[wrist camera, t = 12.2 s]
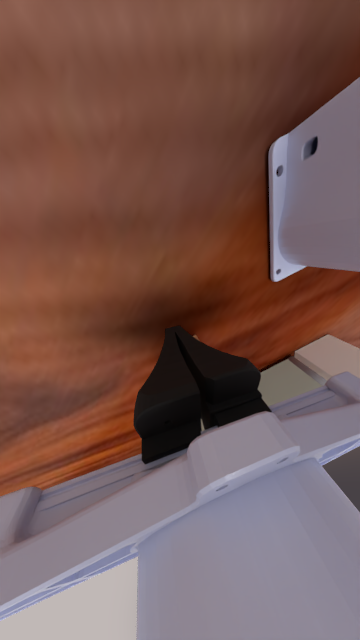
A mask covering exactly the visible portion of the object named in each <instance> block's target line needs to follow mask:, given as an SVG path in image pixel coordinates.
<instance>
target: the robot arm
mask: <svg viewBox="0 0 360 640" xmlns="http://www.w3.org/2000/svg"><path fill="white" fill-rule="evenodd" d="M268 158H269V211H270V263H271V280H272V281H275V282H277V281H279V280H281V279H283V278H285V277H287V276H289V275H291V274H293V273H295V272H297V271H299V270H301V269H303V268H305V267H307V266H312V267H321V268H330V269H340V270H349V271H358V272H360V77H359V78H358V79H357V80H355V81H354V82H353V83H352V84H350V85H349V86H348V87H347V88H345V89H344V90H343V91H341V92H340V93H339V94H338V95H336V96H335V97H334V98H333V99H331V100H330V101H329V102H328V103H326V104H325V105H324V106H322V107H321V108H320V109H319V110H317V111H316V112H315V113H314V114H312V115H311V116H310V117H309V118H307V119H306V120H305V121H304V122H302V123H301V124H300V125H298V126H297V127H296V128H295V129H293V130H292V131H291V132H290V133H288V134H286V135H284V136H282V137H280V138H279V139H277V140H276V141H275V142H274V143H273V144H272V145H271V147H270V150H269V156H268ZM277 169H278V175H277V174H276V171H277ZM276 271H277V272H276ZM260 379H261V373H260V371H259V370H258V369H257V368H256V367H255V366H254V365H253V364H252V363H251V362H250V361H249V360H248V359H246V358H242V357H238V356H234V355H230V354H227V353H224V352H221V351H219V350H216V349H214V348H212V347H209V346H207V345H206V344H204V343H202V342H200V341H199V340H197V339H196V338H194V337H193V336H191V335H190V334H189V333H188V332H186V331H185V330H184V329H183V328H182V327H181V326H175V327H171V328H166V329H165V340H164V344H163V348H162V351H161V354H160V357H159V359H158V361H157V363H156V365H155V367H154V369H153V371H152V373H151V374H150V376H149V378H148V379H147V381H146V382H145V383H144V385H143V386H142V387H141V389H140V390H139V392H138V395H137V399H136V404H135V410H134V427H135V429H136V431H137V432H138V434H139V435H140V437H141V438H142V454H139V455H136V456H134V457H131V458H128V459H126V460H123V461H120V462H118V463H115V464H112V465H110V466H107V467H104V468H101V469H99V470H96V471H93V472H91V473H88V474H85V475H83V476H80V477H77V478H75V479H72V480H69V481H66V482H64V483H61V484H58V485H56V486H53V487H50V488H48V489H45V490H41V489H40V488H38V487H27V488H23V489H20V490H17V491H15V492H12V493H9V494H6V495H4V496H1V497H0V621H1V620H3V619H5V618H7V617H9V616H11V615H13V614H15V613H18V612H20V611H22V610H24V609H25V608H28V607H30V606H32V605H34V604H36V603H39V602H40V601H43V600H45V599H47V598H49V597H51V596H53V595H56V594H58V593H60V592H62V591H64V590H66V589H68V588H71V587H73V586H75V585H77V584H79V583H81V582H83V581H85V580H88V579H90V578H92V577H94V576H96V575H98V574H101V573H103V572H105V571H107V570H109V569H111V568H114V567H116V566H118V565H120V564H122V563H124V562H127V561H129V560H131V559H133V558H135V557H137V556H138V589H137V640H360V512H359V511H358V510H357V509H356V508H355V506H354V505H353V504H352V503H351V501H350V500H349V499H348V498H347V497H346V495H345V494H344V493H343V492H342V490H341V489H340V488H339V487H338V486H337V484H336V483H335V482H334V481H333V479H332V478H331V477H330V476H329V475H328V473H327V472H326V471H325V470H324V469H323V467H322V465H324V464H326V463H327V462H329V461H331V460H333V459H335V458H337V457H339V456H341V455H343V454H345V453H347V452H349V451H350V450H353V449H354V448H356V447H358V446H360V379H359V378H358V377H356V376H354V375H353V374H351V373H349V372H343V373H340V374H337V375H335V376H332V377H331V378H329V379H328V380H327V382H326V383H325V386H322V387H319V388H316V389H314V390H311V391H308V392H306V393H303V394H300V395H298V396H295V397H292V398H290V399H287V400H284V401H282V402H279V403H276V404H273V405H271V406H268V405H267V404H266V403H265V402H264V400H263V399H262V398H261V397H262V394H261V393H260V392H259V390H258V386H259V383H260ZM201 419H202V423H203V426H204V429H205V430H204V431H202V428H201Z"/></svg>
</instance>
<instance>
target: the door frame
mask: <svg viewBox="0 0 360 640" xmlns="http://www.w3.org/2000/svg"><path fill="white" fill-rule="evenodd" d="M294 357H295V358H296V359H298V360H299V361H301V362H302V363H303V364H305V365H306V366H308V367H309V368H310V369H312V370H313V371H315V372H316V373H317V374H319V375H320V376H321V377H323V378H324V379H326V380H328V379H329V378H331V377H332V376H335V375H337V374H340V373H343V372H349V373H351V374H353V375H354V376H356V377H358V378H359V379H360V349H359V348H357V347H355V346H352V345H350V344H348V343H346V342H344V341H342V340H340V339H337V338H335V337H333V336H331V335H329V334H328V335H326V336H324V337H322V338H320V339H318V340H316V341H314V342H312V343H310V344H308V345H306V346H304V347H302V348H300V349H298V350H296V351H295V355H294Z"/></svg>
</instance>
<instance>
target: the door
mask: <svg viewBox="0 0 360 640" xmlns="http://www.w3.org/2000/svg"><path fill="white" fill-rule="evenodd" d="M326 382H327V380H325V379H324V378H323V377H321V376H320V375H318V374H317V373H316V372H314V371H313V370H311V369H310V368H309V367H307V366H306V365H305V364H303V363H302V362H300V361H299V360H298V359H296V358H295V357H293V356H291V357H289V358H288V359H286V360H285V361H283V362H281V363H279V364H277V365H275V366H273V367H271V368H269V369H267V370H265V371H263V372H261V379H260V383H259V386H258V390H259V392H260V393H261V394H262V397H261V398H262V399H263V400H264V402H265V403H266V404H267V405H268V406H271V405H273V404H276V403H279V402H282V401H284V400H287V399H290V398H292V397H295V396H298V395H300V394H303V393H306V392H308V391H311V390H314V389H316V388H319V387H322V386H325V383H326ZM201 428H202V431H204V430H205V429H204V426H203V423H202V419H201Z"/></svg>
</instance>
